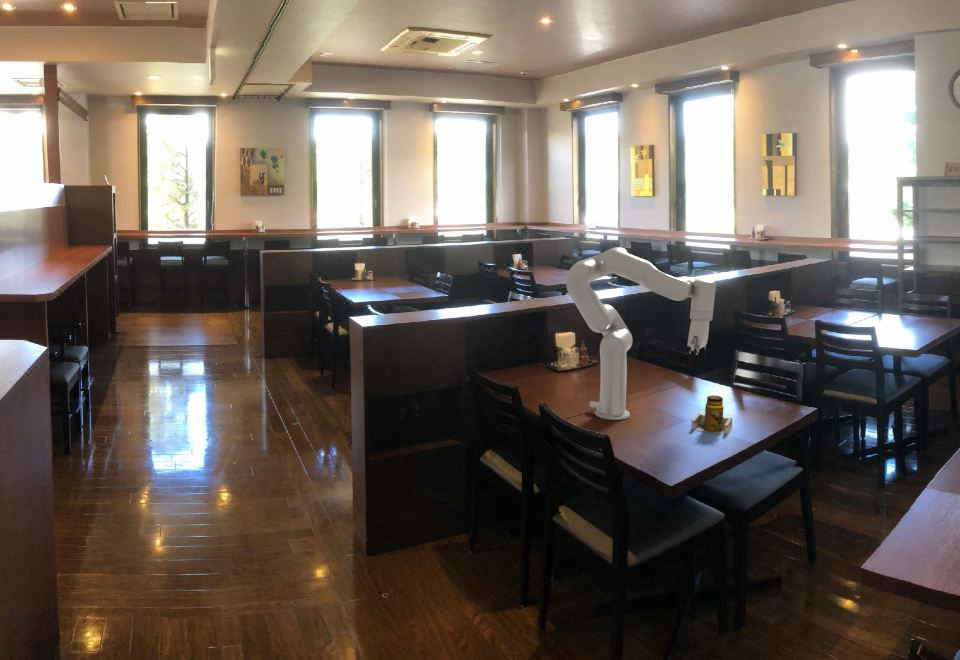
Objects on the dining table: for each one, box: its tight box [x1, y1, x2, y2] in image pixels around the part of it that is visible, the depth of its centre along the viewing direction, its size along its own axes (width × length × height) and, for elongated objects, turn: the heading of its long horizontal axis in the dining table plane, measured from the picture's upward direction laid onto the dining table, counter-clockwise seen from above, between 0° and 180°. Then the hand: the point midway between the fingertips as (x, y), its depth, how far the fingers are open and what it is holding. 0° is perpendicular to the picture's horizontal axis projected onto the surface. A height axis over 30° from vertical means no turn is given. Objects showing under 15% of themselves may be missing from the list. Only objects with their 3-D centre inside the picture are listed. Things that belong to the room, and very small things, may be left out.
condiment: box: [696, 394, 724, 435], centre depth 266 cm, size 7×8×12 cm
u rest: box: [691, 412, 733, 436], centre depth 268 cm, size 12×9×4 cm
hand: (696, 362), depth 268 cm, fingers open, 9 cm apart
